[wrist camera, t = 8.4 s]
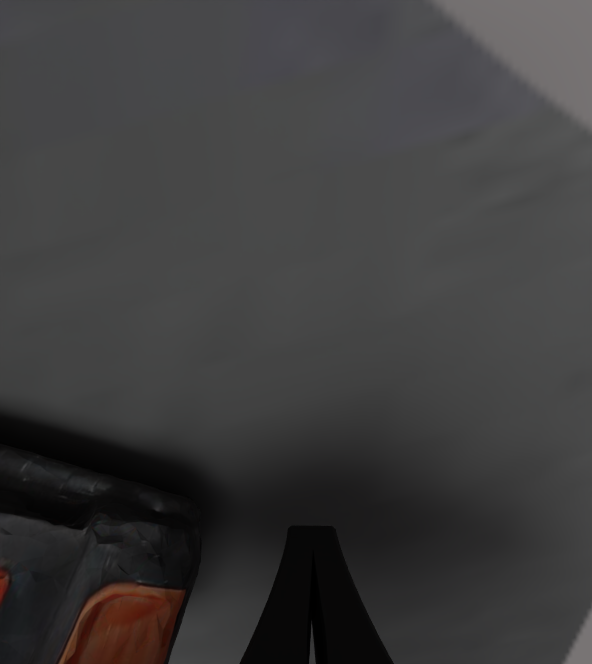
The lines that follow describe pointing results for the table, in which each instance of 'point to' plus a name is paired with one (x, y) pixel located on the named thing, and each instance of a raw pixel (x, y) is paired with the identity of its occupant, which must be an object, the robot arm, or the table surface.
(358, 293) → the table surface
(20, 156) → the table surface
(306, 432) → the table surface
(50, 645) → the battery
